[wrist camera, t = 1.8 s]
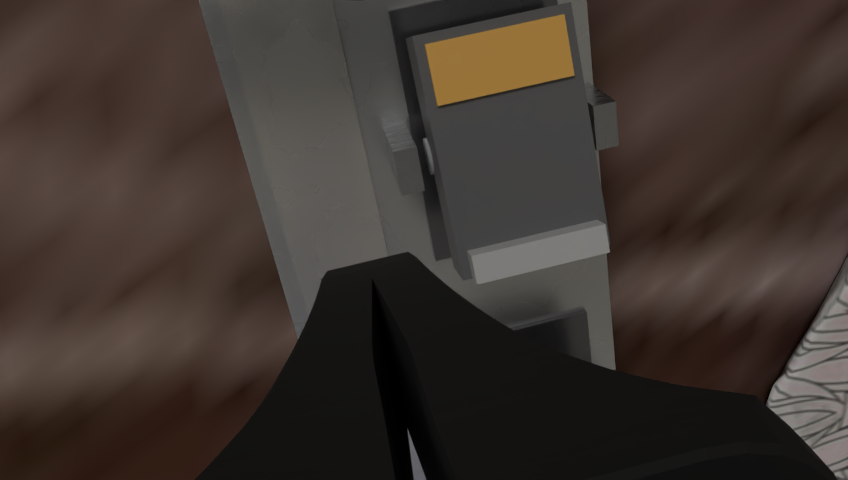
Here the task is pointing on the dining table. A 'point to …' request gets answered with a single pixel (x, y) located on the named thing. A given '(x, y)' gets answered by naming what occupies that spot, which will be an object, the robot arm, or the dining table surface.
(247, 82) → the power strip
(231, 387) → the dining table surface
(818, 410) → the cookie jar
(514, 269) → the rocker
